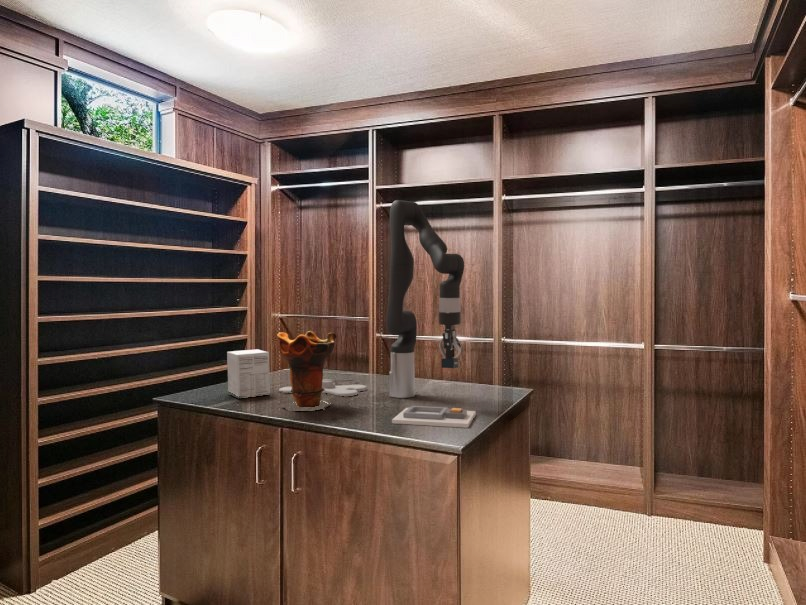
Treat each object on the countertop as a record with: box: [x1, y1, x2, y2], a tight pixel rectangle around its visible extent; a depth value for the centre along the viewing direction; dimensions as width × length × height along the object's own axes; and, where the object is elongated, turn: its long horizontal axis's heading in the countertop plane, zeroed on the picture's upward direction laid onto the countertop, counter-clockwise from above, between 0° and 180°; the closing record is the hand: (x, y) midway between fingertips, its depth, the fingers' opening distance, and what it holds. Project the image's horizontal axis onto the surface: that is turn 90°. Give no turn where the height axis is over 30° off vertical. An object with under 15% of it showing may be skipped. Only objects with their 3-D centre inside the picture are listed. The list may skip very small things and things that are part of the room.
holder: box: [278, 378, 368, 397], centre depth 231 cm, size 19×34×5 cm, turn 73°
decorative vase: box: [276, 330, 337, 409], centre depth 202 cm, size 21×23×28 cm
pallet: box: [391, 405, 477, 429], centre depth 181 cm, size 24×17×3 cm
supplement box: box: [226, 348, 271, 397], centre depth 224 cm, size 13×13×18 cm
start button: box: [450, 407, 463, 413], centre depth 179 cm, size 3×3×2 cm
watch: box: [438, 336, 463, 369], centre depth 196 cm, size 6×8×11 cm
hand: (450, 359), depth 197 cm, fingers closed on watch, 3 cm apart
